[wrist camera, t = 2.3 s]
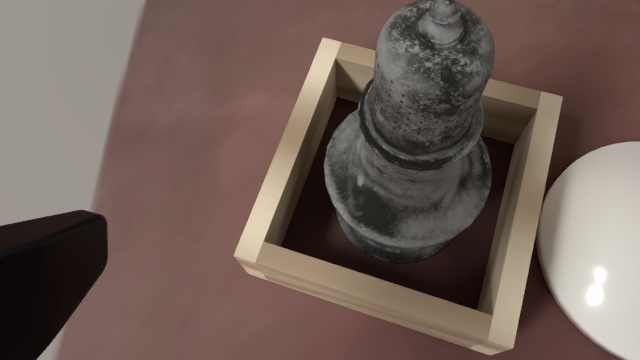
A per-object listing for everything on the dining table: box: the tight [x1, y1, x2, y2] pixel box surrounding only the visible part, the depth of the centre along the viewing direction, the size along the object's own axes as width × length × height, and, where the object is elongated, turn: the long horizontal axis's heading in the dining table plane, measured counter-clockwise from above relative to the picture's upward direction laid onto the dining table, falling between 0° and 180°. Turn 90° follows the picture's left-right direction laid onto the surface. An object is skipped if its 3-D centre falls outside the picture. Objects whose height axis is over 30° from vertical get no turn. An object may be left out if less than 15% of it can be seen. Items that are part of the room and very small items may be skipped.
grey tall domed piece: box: [324, 0, 495, 264], centre depth 16 cm, size 6×6×12 cm
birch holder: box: [234, 38, 563, 355], centre depth 20 cm, size 10×10×3 cm
